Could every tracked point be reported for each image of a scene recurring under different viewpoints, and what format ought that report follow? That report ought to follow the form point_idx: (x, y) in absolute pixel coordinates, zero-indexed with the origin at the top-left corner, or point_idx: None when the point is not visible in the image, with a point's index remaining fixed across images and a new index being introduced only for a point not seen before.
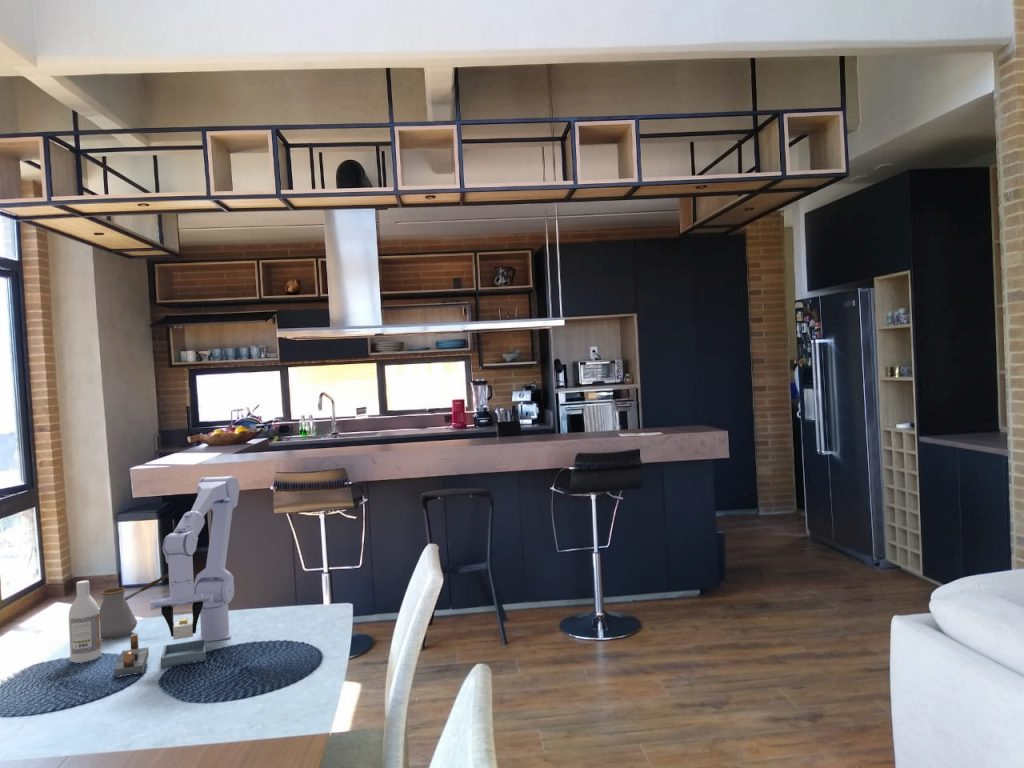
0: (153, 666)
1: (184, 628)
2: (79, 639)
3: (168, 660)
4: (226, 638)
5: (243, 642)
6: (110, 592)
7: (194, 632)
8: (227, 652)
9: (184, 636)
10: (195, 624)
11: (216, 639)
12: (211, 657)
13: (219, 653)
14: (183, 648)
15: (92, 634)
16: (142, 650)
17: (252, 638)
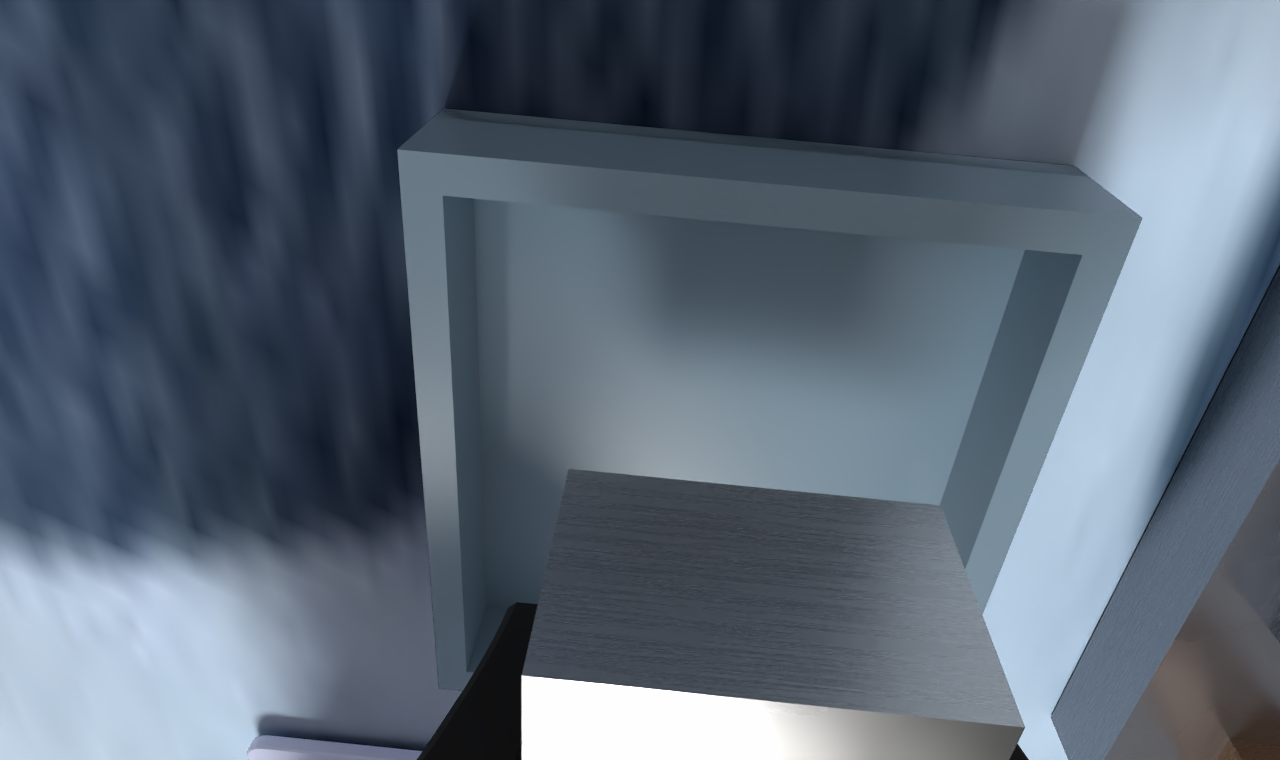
0: (1131, 321)
1: (725, 641)
2: None
3: (998, 184)
4: (290, 739)
5: (87, 572)
6: None
7: (529, 613)
8: (197, 334)
9: (728, 504)
10: (460, 737)
11: (384, 753)
12: (382, 247)
13: (297, 353)
14: None
15: None
16: (1177, 737)
17: (21, 636)
